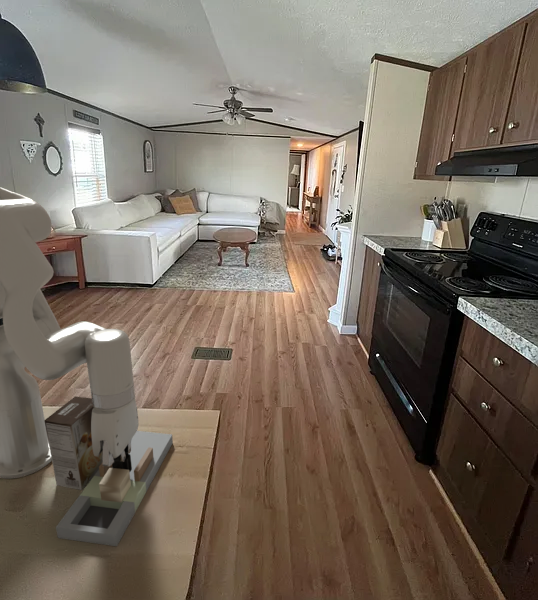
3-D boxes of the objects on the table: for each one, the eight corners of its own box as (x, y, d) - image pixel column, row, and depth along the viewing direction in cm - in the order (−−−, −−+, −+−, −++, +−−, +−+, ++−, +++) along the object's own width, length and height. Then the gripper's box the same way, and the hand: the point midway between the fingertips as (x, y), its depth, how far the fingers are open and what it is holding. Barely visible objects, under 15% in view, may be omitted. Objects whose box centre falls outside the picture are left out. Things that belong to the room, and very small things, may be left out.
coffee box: (84, 455, 86) (75, 394, 81) (109, 460, 84) (102, 398, 79) (54, 485, 77) (43, 419, 72) (82, 491, 76) (72, 424, 71)
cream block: (101, 500, 71) (98, 483, 70) (111, 483, 75) (109, 467, 73) (121, 502, 71) (119, 486, 69) (130, 485, 74) (129, 469, 73)
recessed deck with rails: (57, 537, 66) (53, 516, 65) (129, 438, 92) (127, 421, 90) (116, 546, 65) (114, 524, 63) (172, 443, 91) (171, 425, 89)
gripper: (114, 373, 78) (122, 446, 84) (70, 415, 64) (84, 499, 69) (148, 375, 77) (155, 449, 83) (112, 419, 63) (122, 504, 69)
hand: (122, 472), depth 76 cm, fingers closed
